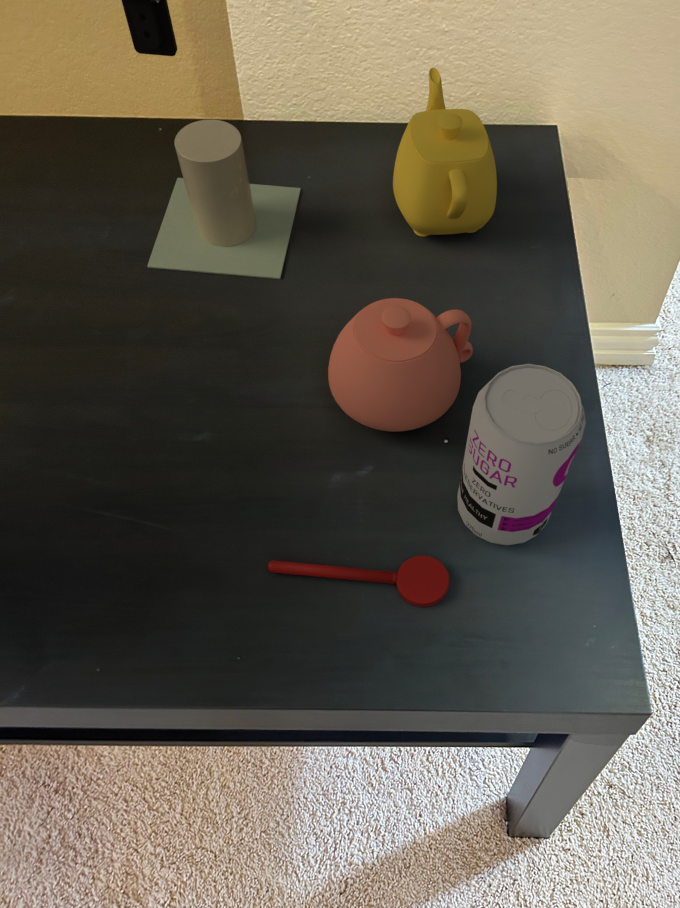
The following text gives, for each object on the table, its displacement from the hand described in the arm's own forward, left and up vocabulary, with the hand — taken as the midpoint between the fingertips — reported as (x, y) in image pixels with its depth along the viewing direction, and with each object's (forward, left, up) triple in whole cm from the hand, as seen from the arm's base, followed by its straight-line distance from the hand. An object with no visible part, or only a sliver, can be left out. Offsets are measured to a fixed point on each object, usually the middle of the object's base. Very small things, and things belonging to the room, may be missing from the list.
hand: (171, 17), depth 60 cm
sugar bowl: (+21, -17, -23) cm, 35 cm away
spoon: (+19, -37, -23) cm, 47 cm away
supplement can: (+31, -29, -23) cm, 48 cm away
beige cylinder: (0, +3, -23) cm, 23 cm away
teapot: (+23, +9, -23) cm, 33 cm away
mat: (0, +3, -23) cm, 23 cm away
